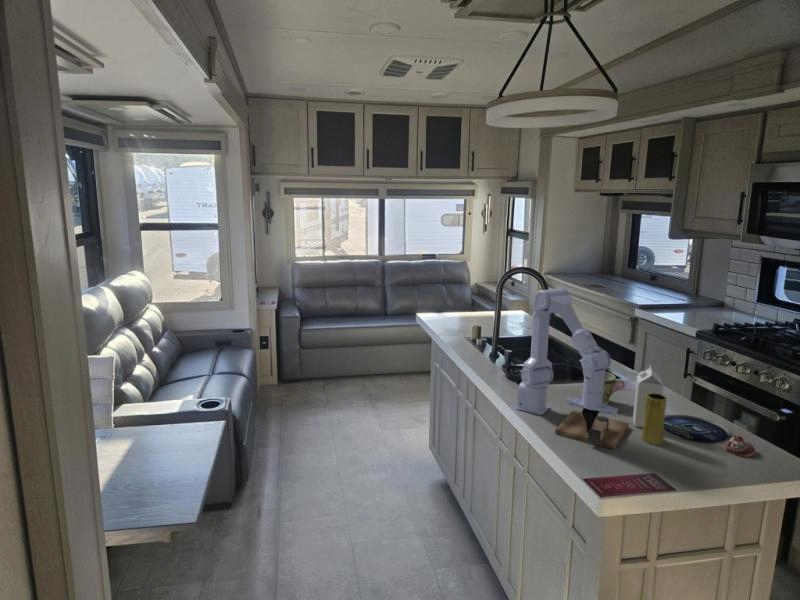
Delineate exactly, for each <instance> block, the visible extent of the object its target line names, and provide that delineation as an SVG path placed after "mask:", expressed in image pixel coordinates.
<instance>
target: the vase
mask: <svg viewBox="0 0 800 600" xmlns="http://www.w3.org/2000/svg"><path fill="white" fill-rule="evenodd" d="M666 404H667V397H666V396H665V395H664V394H662V395H661V394H657V393H650V394H648V395H647V403H646V410H645V418H644V425H643V427H642V435H641V440H642V441H644V442H645V443H647V444H651V445H661V444H663V443H664V432H665V417H666V416H665V415H666V409H667V408H666V406H667V405H666Z"/></svg>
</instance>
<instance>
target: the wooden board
mask: <svg viewBox="0 0 800 600" xmlns="http://www.w3.org/2000/svg"><path fill="white" fill-rule="evenodd" d="M599 416H600V415H597V417H599ZM597 417H596V419H595V421H594V423H595V422H596V420H597ZM607 418H608V419H609V426H608V430H607V431H606V432H605V434H604V435H603V437H602V438H601V440H600V442H599V443H595V442H591V441H588V433H587V425H586V422H585V419H584V417H583V415H582V411H577V410H575V409H572V410H571V411H570V412H569V414H568V415H567V416H566V417H565V418H564V419H563V420H562V421H561V422H560V424H559V425H557V427H556V428H555V429H554V430H555V432H554V434H556V435H560V436H563V437H565V438H566V437H567V438H571V439H574V440H579V441H581V442H582V441H583V442H586V443H589V444H594V445H598V446H601V447H605V448H609V449H613V450H616V448H617V447H618V446H619V443H620V441H621V440H622V438H623V437H624V435H625V434H626V433H627V430H628V429H629V424H630V423H629V422H625V421H620V420H617V419H613V418H609V417H607ZM594 423H593V425H594ZM593 425H592V426H593Z"/></svg>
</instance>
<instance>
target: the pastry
mask: <svg viewBox="0 0 800 600" xmlns="http://www.w3.org/2000/svg"><path fill="white" fill-rule="evenodd" d="M723 449H724V451H725V452H727V453H728V454H730V455H733V456H736V457H739V458H753V457H754V456H756V455H755V454H756V448H755V447H754V446H753V445H752V443H751V442H749V441H747V440H745V439H744V438H743V437H742V436H740V435H736V434H734V435H733V436H732V438H730V439H729V440H727V441H725V443H724V444H723Z"/></svg>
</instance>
